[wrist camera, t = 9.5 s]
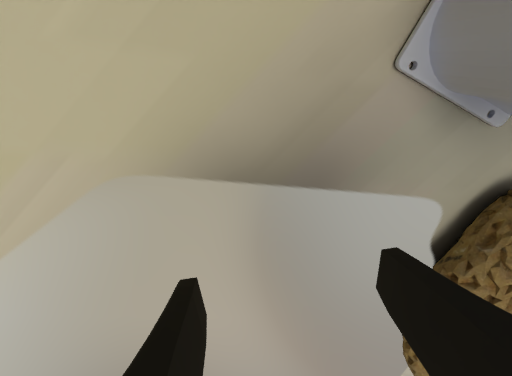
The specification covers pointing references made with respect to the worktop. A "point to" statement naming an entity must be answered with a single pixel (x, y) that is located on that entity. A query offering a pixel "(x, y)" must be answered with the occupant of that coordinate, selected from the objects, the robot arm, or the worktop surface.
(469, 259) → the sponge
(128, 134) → the worktop surface
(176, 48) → the worktop surface
